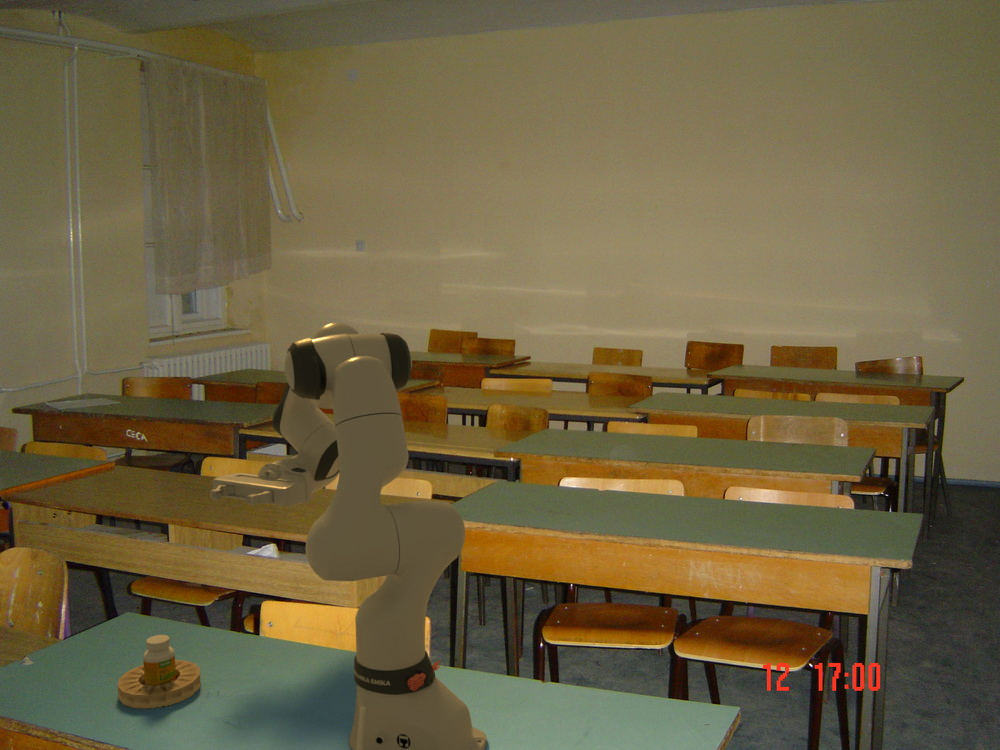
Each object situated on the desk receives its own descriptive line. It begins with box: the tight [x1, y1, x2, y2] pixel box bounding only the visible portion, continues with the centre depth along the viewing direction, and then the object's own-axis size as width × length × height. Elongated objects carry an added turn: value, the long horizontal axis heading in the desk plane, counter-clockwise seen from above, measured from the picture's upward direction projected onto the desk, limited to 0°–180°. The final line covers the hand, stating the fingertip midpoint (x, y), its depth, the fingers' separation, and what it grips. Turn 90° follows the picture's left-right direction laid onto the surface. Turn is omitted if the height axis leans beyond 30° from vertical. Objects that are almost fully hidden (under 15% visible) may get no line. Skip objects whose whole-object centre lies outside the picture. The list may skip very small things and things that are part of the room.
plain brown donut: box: [117, 659, 201, 710], centre depth 170 cm, size 14×14×2 cm
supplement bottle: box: [142, 634, 176, 686], centre depth 169 cm, size 5×5×10 cm
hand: (230, 498), depth 180 cm, fingers open, 8 cm apart
